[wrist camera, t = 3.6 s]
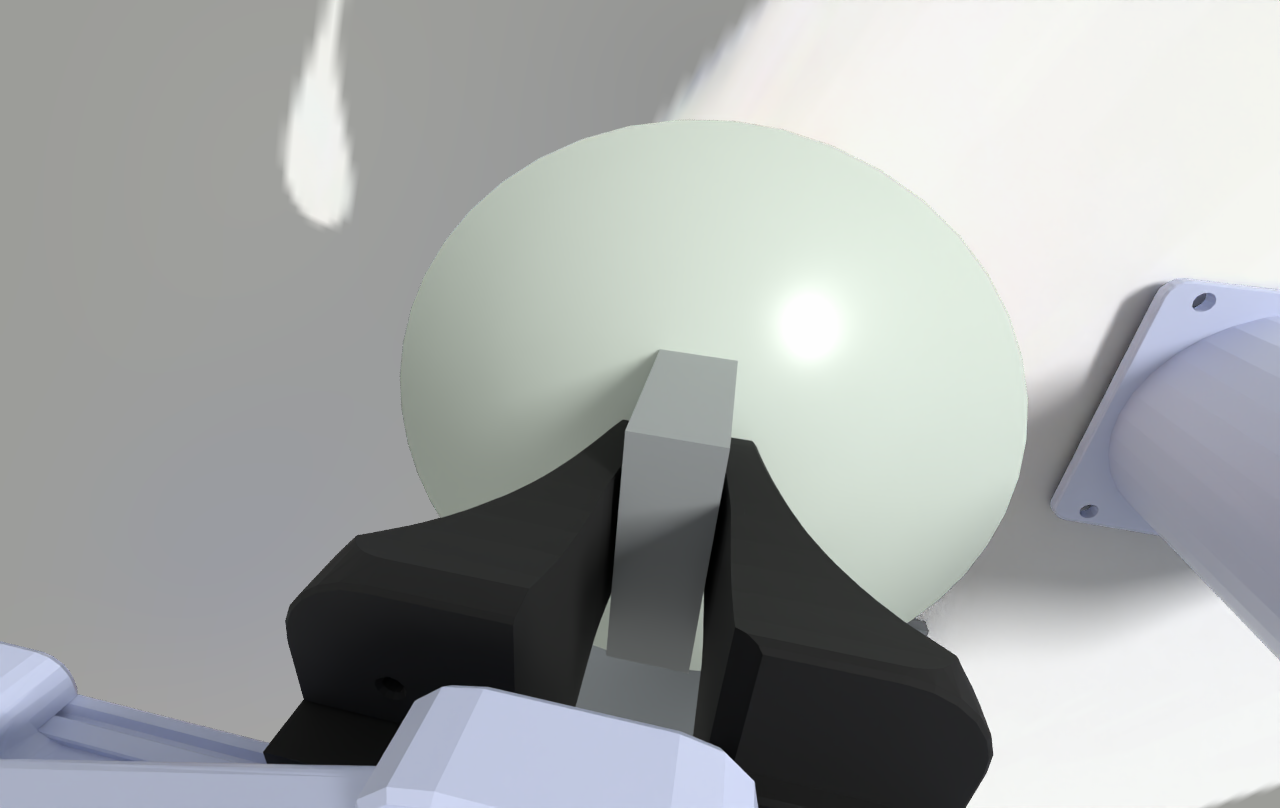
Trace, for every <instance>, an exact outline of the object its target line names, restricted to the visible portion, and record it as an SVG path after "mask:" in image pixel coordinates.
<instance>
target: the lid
mask: <svg viewBox="0 0 1280 808" xmlns="http://www.w3.org/2000/svg"><path fill="white" fill-rule="evenodd" d="M400 386H401V406H402V414H403V420H404V425H405V430H406V436H407V441H408V445H409V448H410V451H411V454H412V457H413V460H414V463H415V467H416V470H417V473H418V475H419V477H420V479H421V481H422V484H423V486H424V488H425V490H426V492H427V495H428V497H429V499H430V501H431V503H432V504H433V506H434V508H435V510H436V511H437V513H438V514H439V516H440V518H442V517H445V516H449V515H452V514H455V513H458V512H462V511H465V510H468V509H471V508H473V507H476V506H478V505H481V504H484V503H486V502H489V501H491V500H494V499H497V498H499V497H502V496H504V495H507V494H509V493H511V492H513V491H515V490H518V489H520V488H522V487H524V486H526V485H528V484H530V483H532V482H534V481H536V480H537V479H539V478H541V477H543V476H545V475H546V474H548V473H550V472H551V471H553V470H554V469H556V468H558V467H559V466H561V465H562V464H564V463H565V462H567V461H568V460H570V459H571V458H573V457H574V456H575V455H577V454H578V453H580V452H581V451H582V450H584V449H585V448H586V447H588V446H589V445H590V444H592V443H593V442H594V441H596V440H597V439H598V438H599V437H601V436H602V435H603V434H604V433H606V432H607V431H608V430H609V429H611V428H612V427H613V426H614V425H616V424H617V423H618V422H620V421H621V420H629V423H628V425H627V428H626V430H625V439H624V451H623V462H622V474H621V486H620V498H619V509H618V521H617V533H616V545H615V556H614V568H613V580H612V591H611V595H610V598H609V601H608V603H607V606H606V608H605V611H604V613H603V616H602V618H601V621H600V624H599V627H598V630H597V633H596V635H595V638H594V642H593V645H594V646H597V647H600V648H602V649H605V650H606V656H610V657H615V658H620V659H624V660H629V661H633V662H638V663H642V664H647V665H652V666H656V667H661V668H665V669H670V670H674V671H679V672H684V673H688V674H689V670H695V671H701V664H702V650H703V612H704V587H705V581H706V576H707V571H708V565H709V560H710V554H711V549H712V544H713V538H714V533H715V527H716V522H717V516H718V511H719V506H720V500H721V495H722V489H723V484H724V478H725V473H726V468H727V462H728V457H729V451H730V443H731V437H732V438H738V439H744V440H750V441H753V442H754V444H755V445H756V446H757V449H758V451H759V453H760V456H761V458H762V460H763V462H764V464H765V466H766V468H767V470H768V472H769V474H770V476H771V478H772V480H773V482H774V483H775V485H776V487H777V488H778V490H779V492H780V493H781V495H782V497H783V498H784V500H785V502H786V503H787V505H788V506H789V508H790V509H791V511H792V512H793V514H794V515H795V516H796V518H797V519H798V521H799V522H800V523H801V525H802V526H803V528H804V529H805V530H806V531H807V533H808V534H809V535H810V536H811V537H812V539H813V540H814V541H815V542H816V543H817V544H818V545H819V546H820V548H821V549H822V550H823V551H824V552H825V553H826V554H827V555H828V556H829V557H830V558H831V559H832V560H833V561H834V563H835V564H836V565H837V566H839V567H840V568H841V569H842V570H843V571H844V572H845V573H846V574H847V575H848V576H849V577H850V578H851V579H852V580H854V581H855V582H856V583H857V584H858V585H859V586H860V587H861V588H862V589H864V590H865V591H866V592H867V593H868V594H870V595H871V596H872V597H873V598H874V599H876V600H877V601H878V602H879V603H881V604H882V605H883V606H885V607H886V608H887V609H889V610H890V611H891V612H892V613H894V614H895V615H896V616H898V617H899V618H900V619H902V620H903V621H904V622H906V623H908V622H910V621H911V620H913V619H914V618H915V617H917V616H918V615H919V614H921V613H922V612H923V611H925V610H926V609H927V608H929V607H930V606H931V605H933V604H934V603H935V602H936V601H938V600H939V599H940V598H941V597H942V596H943V595H944V594H945V593H946V592H947V591H948V590H949V589H950V588H951V587H952V586H954V585H955V584H956V583H957V582H958V581H959V580H960V579H961V578H962V577H963V576H964V575H965V574H966V572H967V571H968V570H969V568H970V567H971V566H972V565H973V563H974V562H975V561H976V559H977V558H978V557H979V556H980V554H981V553H982V552H983V550H984V549H985V548H986V547H987V545H988V543H989V542H990V540H991V538H992V536H993V534H994V533H995V531H996V529H997V527H998V526H999V524H1000V522H1001V520H1002V518H1003V517H1004V515H1005V513H1006V510H1007V508H1008V505H1009V502H1010V500H1011V497H1012V494H1013V492H1014V489H1015V487H1016V484H1017V481H1018V479H1019V474H1020V469H1021V464H1022V459H1023V454H1024V450H1025V445H1026V440H1027V411H1028V396H1027V389H1026V381H1025V374H1024V367H1023V359H1022V355H1021V352H1020V349H1019V345H1018V342H1017V339H1016V336H1015V333H1014V329H1013V326H1012V323H1011V320H1010V317H1009V314H1008V312H1007V310H1006V308H1005V306H1004V304H1003V302H1002V300H1001V299H1000V297H999V295H998V293H997V291H996V289H995V287H994V285H993V283H992V281H991V279H990V277H989V275H988V273H987V272H986V271H985V269H984V268H983V267H982V265H981V264H980V263H979V261H978V260H977V258H976V257H975V256H974V254H973V253H972V252H971V250H970V249H969V248H968V246H967V245H966V244H965V242H964V241H963V240H962V238H961V237H960V236H959V234H958V233H956V232H955V231H954V230H953V229H952V228H951V227H950V226H949V225H948V224H947V223H946V222H945V221H944V220H943V219H942V218H941V217H940V216H939V215H938V214H937V213H936V212H935V211H934V210H933V209H932V208H931V207H930V206H929V205H928V204H927V203H926V202H925V201H924V200H922V199H921V198H920V197H918V196H917V195H915V194H914V193H913V192H911V191H910V190H908V189H907V188H906V187H904V186H903V185H901V184H900V183H898V182H897V181H896V180H894V179H893V178H891V177H890V176H889V175H887V174H886V173H884V172H883V171H882V170H880V169H878V168H876V167H874V166H872V165H870V164H868V163H866V162H864V161H862V160H860V159H858V158H856V157H854V156H852V155H850V154H848V153H846V152H844V151H842V150H840V149H838V148H836V147H834V146H831V145H829V144H826V143H823V142H820V141H816V140H813V139H810V138H807V137H804V136H801V135H798V134H795V133H792V132H789V131H786V130H783V129H777V128H772V127H766V126H760V125H754V124H748V123H743V122H737V121H718V120H675V121H667V122H658V123H650V124H642V125H634V126H628V127H624V128H621V129H617V130H613V131H610V132H606V133H602V134H599V135H595V136H591V137H588V138H584V139H582V140H579V141H577V142H575V143H572V144H570V145H568V146H565V147H563V148H561V149H559V150H557V151H554V152H552V153H550V154H548V155H545V156H543V157H541V158H539V159H537V160H536V161H534V162H533V163H531V164H530V165H528V166H526V167H525V168H523V169H522V170H520V171H519V172H517V173H516V174H514V175H512V176H511V177H509V178H508V179H506V180H504V181H503V182H502V183H501V184H499V185H498V186H497V187H496V188H495V189H494V190H493V191H491V192H490V193H489V194H488V195H487V196H486V197H485V198H484V199H482V200H481V201H480V202H479V203H478V204H477V205H476V206H474V207H473V208H472V209H471V210H470V211H469V212H468V214H467V215H466V216H465V217H464V219H463V220H462V221H461V222H460V223H459V224H458V226H457V227H456V228H455V229H454V230H453V232H452V233H451V234H450V235H449V236H448V238H447V239H446V240H445V241H444V243H443V245H442V247H441V248H440V250H439V252H438V253H437V255H436V257H435V258H434V260H433V262H432V263H431V265H430V267H429V268H428V270H427V272H426V273H425V276H424V278H423V281H422V283H421V285H420V288H419V290H418V293H417V295H416V298H415V300H414V302H413V305H412V307H411V311H410V316H409V320H408V324H407V328H406V332H405V336H404V340H403V349H402V360H401V371H400Z"/></svg>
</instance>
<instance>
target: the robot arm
mask: <svg viewBox="0 0 1280 808" xmlns="http://www.w3.org/2000/svg"><path fill="white" fill-rule="evenodd" d="M1203 293H1206V298H1205V300H1204V301H1203V303H1202V304H1200V305H1198V306H1197V307H1192V304H1193V301H1194V300H1195V298H1196V297H1197V296H1199V295H1201V294H1203ZM628 423H629V420H621V421H620V422H618V423H617V424H616V425H614V426H613V427H612V428H611V429H609V430H608V431H607V432H606V433H604V434H603V435H602V436H601V437H599V438H598V439H597V440H596V441H594V442H593V443H592V444H590V445H589V446H588V447H586V448H585V449H584V450H582V451H581V452H580V453H578V454H577V455H575V456H574V457H573V458H571V459H570V460H568V461H567V462H565V463H564V464H562V465H561V466H559V467H558V468H556V469H554V470H553V471H551V472H550V473H548V474H546V475H545V476H543V477H541V478H539V479H537V480H536V481H534V482H532V483H530V484H528V485H526V486H524V487H522V488H520V489H518V490H515V491H513V492H511V493H509V494H507V495H504V496H502V497H499V498H497V499H494V500H491V501H489V502H486V503H484V504H481V505H478V506H476V507H473V508H471V509H468V510H465V511H462V512H458V513H455V514H452V515H449V516H445V517H442V518H438V519H434V520H430V521H427V522H423V523H418V524H414V525H410V526H405V527H400V528H394V529H389V530H384V531H379V532H374V533H368V534H363V535H357V536H356V537H355V538H354V539H353V540H352V541H350V542H349V543H348V545H346V546H345V547H344V548H343V549H342V550H341V551H340V552H339V553H338V554H337V555H336V556H335V557H334V558H333V559H332V560H331V561H330V563H328V565H327V566H326V567H325V568H324V569H323V570H322V571H321V572H320V573H319V574H318V575H317V576H316V577H315V578H314V579H313V580H312V581H311V583H310V584H309V585H308V586H307V587H306V588H305V589H304V590H303V591H302V592H301V593H300V594H299V595H298V597H297V598H296V599H295V600H294V601H293V602H292V604H291V605H290V607H289V610H288V614H287V617H286V620H285V622H286V630H287V639H288V644H289V648H290V651H291V655H292V658H293V662H294V665H295V669H296V673H297V676H298V680H299V684H300V687H301V691H302V694H303V698H304V700H303V701H302V703H301V704H300V705H299V706H298V708H297V709H296V710H295V711H294V713H293V714H292V715H291V717H290V718H289V719H288V721H287V722H286V723H285V724H284V726H283V727H282V728H281V729H280V731H279V732H278V733H277V735H276V736H275V737H274V738H273V740H272V741H271V742H270V743H267V742H264V741H260V740H255V739H252V738H248V737H244V736H240V735H236V734H232V733H228V732H224V731H221V730H217V729H212V728H209V727H205V726H201V725H197V724H193V723H189V722H185V721H181V720H177V719H174V718H169V717H166V716H162V715H158V714H154V713H150V712H146V711H142V710H138V709H134V708H130V707H127V706H122V705H119V704H115V703H111V702H107V701H103V700H99V699H95V698H91V697H87V696H83V695H80V694H77V686H76V683H75V681H74V679H73V677H72V675H71V673H70V671H69V670H68V669H67V668H66V667H65V665H64V664H63V663H62V662H61V661H59V660H58V659H56V658H55V657H54V656H52V655H49V654H47V653H44V652H42V651H37V650H34V649H30V648H26V647H22V646H18V645H13V644H9V643H5V642H1V641H0V808H966V806H967V804H968V803H969V801H970V800H971V798H972V796H973V795H974V793H975V791H976V790H977V788H978V786H979V785H980V783H981V781H982V780H983V778H984V776H985V775H986V773H987V771H988V768H989V765H990V762H991V759H992V757H993V748H992V738H991V733H990V731H989V728H988V725H987V723H986V720H985V717H984V715H983V712H982V709H981V706H980V704H979V702H978V699H977V697H976V695H975V692H974V690H973V688H972V686H971V684H970V682H969V680H968V678H967V676H966V674H965V672H964V670H963V668H962V666H961V664H960V662H959V659H958V657H957V656H956V655H954V654H953V653H951V652H950V651H948V650H947V649H945V648H944V647H942V646H941V645H939V644H937V643H936V642H934V641H933V640H931V639H930V638H928V637H927V636H925V635H924V634H922V633H921V632H919V631H918V630H916V629H915V628H913V627H912V626H910V625H909V624H907V623H906V622H904V621H903V620H902V619H900V618H899V617H898V616H896V615H895V614H894V613H892V612H891V611H890V610H889V609H887V608H886V607H885V606H883V605H882V604H881V603H879V602H878V601H877V600H876V599H874V598H873V597H872V596H871V595H870V594H868V593H867V592H866V591H865V590H864V589H862V588H861V587H860V586H859V585H858V584H857V583H856V582H855V581H854V580H852V579H851V578H850V577H849V576H848V575H847V574H846V573H845V572H844V571H843V570H842V569H841V568H840V567H839V566H837V565H836V564H835V563H834V561H833V560H832V559H831V558H830V557H829V556H828V555H827V554H826V553H825V552H824V551H823V550H822V549H821V548H820V546H819V545H818V544H817V543H816V542H815V541H814V540H813V539H812V537H811V536H810V535H809V534H808V533H807V531H806V530H805V529H804V528H803V526H802V525H801V523H800V522H799V521H798V519H797V518H796V516H795V515H794V514H793V512H792V511H791V509H790V508H789V506H788V505H787V503H786V502H785V500H784V498H783V497H782V495H781V493H780V492H779V490H778V488H777V487H776V485H775V483H774V482H773V480H772V478H771V476H770V474H769V472H768V470H767V468H766V466H765V464H764V462H763V460H762V458H761V456H760V453H759V451H758V449H757V446H756V445H755V444H754V442H753V441H750V440H744V439H738V438H732V437H731V443H730V451H729V457H728V462H727V468H726V473H725V478H724V484H723V489H722V495H721V500H720V506H719V511H718V516H717V522H716V527H715V533H714V538H713V544H712V549H711V554H710V560H709V565H708V571H707V576H706V581H705V587H704V612H703V650H702V664H701V673H700V681H699V690H698V698H697V707H696V715H695V723H694V731H693V736H691V735H688V734H686V733H683V732H681V731H677V730H673V729H669V728H664V727H660V726H656V725H651V724H647V723H643V722H638V721H634V720H630V719H625V718H621V717H617V716H612V715H608V714H604V713H599V712H595V711H591V710H586V709H582V708H578V707H576V704H577V700H578V696H579V692H580V689H581V685H582V681H583V678H584V674H585V670H586V667H587V663H588V660H589V656H590V652H591V649H592V645H593V642H594V638H595V635H596V633H597V630H598V627H599V624H600V621H601V618H602V616H603V613H604V611H605V608H606V606H607V603H608V601H609V598H610V595H611V591H612V580H613V568H614V556H615V545H616V533H617V521H618V509H619V498H620V486H621V474H622V462H623V451H624V439H625V430H626V428H627V425H628ZM1086 505H1092V506H1091V507H1090V508H1089V509H1087V510H1083V511H1080V509H1081V508H1082V507H1084V506H1086ZM1050 506H1051V509H1052V510H1053V512H1054V513H1055V514H1056V515H1057V516H1058V517H1059V518H1061V519H1064V520H1069V521H1075V522H1081V523H1087V524H1093V525H1098V526H1104V527H1110V528H1116V529H1122V530H1128V531H1134V532H1140V533H1146V534H1152V535H1158V536H1161V537H1162V538H1163V539H1164V540H1165V541H1166V542H1167V543H1168V545H1169V546H1170V547H1171V548H1172V549H1173V550H1174V551H1175V552H1176V553H1177V554H1178V555H1179V556H1180V557H1181V558H1182V559H1183V560H1184V561H1185V562H1186V563H1187V564H1188V565H1189V566H1190V567H1191V569H1192V570H1193V571H1194V572H1195V573H1196V574H1197V575H1198V576H1199V577H1200V578H1201V579H1202V580H1203V581H1204V582H1205V583H1206V584H1207V585H1208V586H1209V587H1210V588H1211V589H1212V590H1213V591H1214V592H1215V594H1216V595H1217V596H1218V597H1219V598H1220V599H1221V600H1222V601H1223V602H1224V603H1225V604H1226V605H1227V606H1228V607H1229V608H1230V609H1231V610H1232V611H1233V612H1234V613H1235V614H1236V615H1237V616H1238V617H1239V619H1240V620H1241V621H1242V622H1243V623H1244V624H1245V625H1246V626H1247V627H1248V628H1249V629H1250V630H1251V631H1252V632H1253V633H1254V634H1255V635H1256V636H1257V637H1258V638H1259V639H1260V640H1261V641H1262V643H1263V644H1264V645H1265V646H1266V647H1267V648H1268V649H1269V650H1270V651H1271V652H1272V653H1273V654H1274V655H1275V656H1276V657H1277V658H1278V659H1279V660H1280V290H1278V289H1270V288H1261V287H1253V286H1244V285H1236V284H1228V283H1219V282H1211V281H1203V280H1194V279H1186V278H1183V279H1175V280H1172V281H1169V282H1167V283H1166V284H1165V285H1163V286H1162V287H1161V288H1160V289H1159V290H1158V292H1157V293H1156V294H1155V296H1154V298H1153V300H1152V302H1151V304H1150V306H1149V308H1148V310H1147V312H1146V314H1145V316H1144V318H1143V320H1142V322H1141V324H1140V326H1139V328H1138V330H1137V332H1136V334H1135V336H1134V338H1133V340H1132V342H1131V344H1130V346H1129V348H1128V350H1127V351H1126V353H1125V355H1124V357H1123V359H1122V361H1121V363H1120V365H1119V367H1118V369H1117V371H1116V373H1115V375H1114V377H1113V379H1112V381H1111V383H1110V385H1109V387H1108V389H1107V391H1106V393H1105V395H1104V397H1103V399H1102V401H1101V403H1100V405H1099V407H1098V409H1097V411H1096V413H1095V414H1094V416H1093V418H1092V420H1091V422H1090V424H1089V426H1088V428H1087V430H1086V432H1085V434H1084V436H1083V438H1082V440H1081V442H1080V444H1079V446H1078V448H1077V450H1076V452H1075V454H1074V456H1073V458H1072V460H1071V462H1070V464H1069V466H1068V468H1067V470H1066V472H1065V474H1064V476H1063V477H1062V479H1061V481H1060V483H1059V485H1058V487H1057V489H1056V491H1055V493H1054V495H1053V497H1052V499H1051V503H1050Z"/></svg>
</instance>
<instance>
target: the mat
mask: <svg viewBox="0 0 1280 808" xmlns="http://www.w3.org/2000/svg"><path fill="white" fill-rule="evenodd" d="M907 624H909V625H910V626H912V627H913V628H915V629H916V630H918V631H919V632H921V633H922V634H924V635H925V636H927V634H928V632H929V631H928V628H927V625H926V622H925V621H920V620H914V619H913V620H911V621H910V622H908V623H907ZM700 673H701V671H695V670H689V674H688V673H684V672H679V671H674V670H670V669H665V668H661V667H656V666H652V665H647V664H642V663H638V662H633V661H629V660H624V659H620V658H615V657H610V656H606V650H605V649H602V648H600V647H597V646H594V645H592V649H591V652H590V656H589V660H588V663H587V667H586V670H585V674H584V678H583V681H582V685H581V689H580V692H579V696H578V700H577V704H576V707H578V708H582V709H586V710H591V711H595V712H599V713H604V714H608V715H612V716H617V717H621V718H625V719H630V720H634V721H638V722H643V723H647V724H651V725H656V726H660V727H664V728H669V729H673V730H677V731H681V732H683V733H686V734H688V735H691V736H693V731H694V723H695V715H696V707H697V698H698V690H699V681H700Z"/></svg>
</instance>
